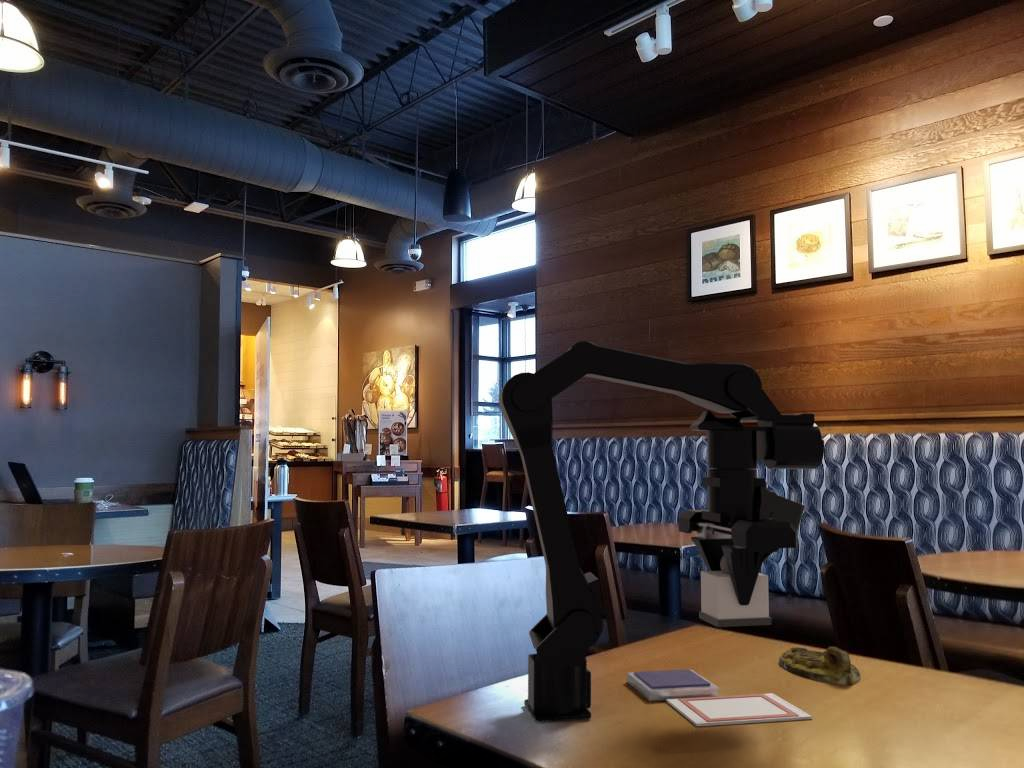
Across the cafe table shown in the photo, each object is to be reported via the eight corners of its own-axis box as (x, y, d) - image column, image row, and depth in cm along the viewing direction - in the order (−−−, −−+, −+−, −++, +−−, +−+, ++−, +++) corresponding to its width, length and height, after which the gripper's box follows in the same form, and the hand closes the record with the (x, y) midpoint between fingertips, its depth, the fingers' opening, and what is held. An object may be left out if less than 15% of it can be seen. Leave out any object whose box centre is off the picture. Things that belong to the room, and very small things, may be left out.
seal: (761, 665, 117) (821, 695, 102) (757, 633, 117) (817, 658, 102) (817, 656, 119) (884, 684, 104) (813, 624, 119) (880, 647, 104)
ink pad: (649, 701, 95) (649, 688, 96) (626, 681, 103) (626, 670, 103) (718, 697, 97) (718, 685, 97) (691, 678, 105) (691, 667, 105)
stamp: (771, 624, 92) (770, 553, 93) (717, 627, 90) (716, 554, 91) (750, 616, 97) (749, 548, 97) (699, 618, 95) (698, 549, 96)
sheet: (696, 726, 87) (696, 722, 87) (666, 701, 95) (666, 698, 95) (811, 719, 90) (811, 715, 90) (772, 695, 98) (772, 692, 98)
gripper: (839, 471, 88) (843, 615, 86) (754, 467, 106) (756, 585, 104) (747, 471, 85) (749, 618, 84) (676, 467, 103) (677, 588, 102)
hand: (734, 601), depth 94 cm, fingers closed on stamp, 4 cm apart
